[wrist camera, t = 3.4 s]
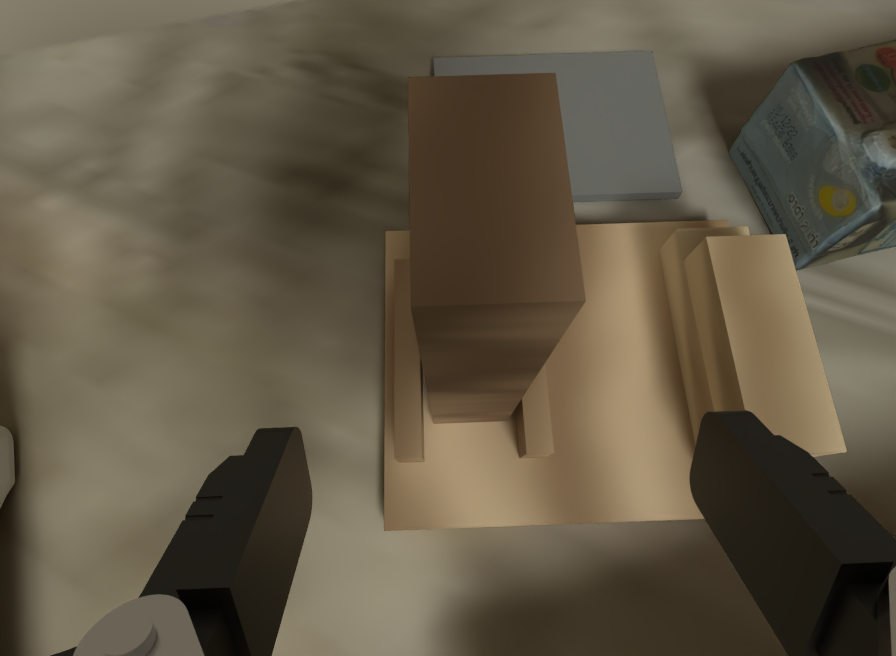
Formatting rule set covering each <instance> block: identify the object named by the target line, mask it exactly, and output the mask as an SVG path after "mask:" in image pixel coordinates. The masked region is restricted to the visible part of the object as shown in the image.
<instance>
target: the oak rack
mask: <svg viewBox="0 0 896 656" xmlns="http://www.w3.org/2000/svg"><path fill="white" fill-rule="evenodd" d="M576 230H577V237H578V245H579V252H580V260H581V267H582V275H583V282H584V290H585V297H586V302H585V303H584V305H583V306H582V308H581V309H580V311H579V312H578V314H577V315H576V317H575V318H574V320H573V321H572V323H571V324H570V326H569V327H568V329H567V331H566V332H565V334H564V335H563V337H562V338H561V340H560V341H559V343H558V344H557V346H556V347H555V349H554V350H553V352H552V353H551V355H550V356H549V358H548V359H547V361H546V362H545V364H544V366H543V367H542V369H541V370H540V372H539V373H538V375H537V376H536V378H535V379H534V381H533V382H532V384H531V385H530V387H529V388H528V390H527V391H526V393H525V394H524V396H523V397H522V399H521V401H520V402H519V404H518V405H517V407H516V408H515V410H514V411H513V413H512V414H511V416H510V417H509V419H508V420H507V421H500V422H472V423H444V424H433V419H432V413H431V408H430V403H429V398H428V393H427V388H426V383H425V378H424V373H423V368H422V362H421V357H420V352H419V347H418V342H417V337H416V332H415V327H414V322H413V317H412V311H411V298H410V230H403V231H386V250H385V434H384V531H392V530H419V529H445V528H472V527H499V526H526V525H552V524H579V523H606V522H633V521H660V520H686V519H704V517H703V515H702V514H701V512H700V510H699V509H698V507H697V505H696V504H695V501H694V499H693V496H692V493H691V489H690V481H689V475H690V468H691V464H692V460H693V455H694V451H695V446H696V442H697V437H698V433H699V428H700V424H701V420H702V418H703V416H704V414H705V413H707V412H715V411H740V410H747V411H750V412H752V413H753V414H754V415H755V416H756V417H757V418H758V419H759V420H760V421H761V422H762V423H763V424H764V425H765V426H766V427H767V428H768V429H769V430H770V431H771V432H772V433H773V435H781V436H782V437H784V438H786V439H787V440H789V441H791V442H792V443H794V444H796V445H797V446H799V447H800V448H802V449H804V450H805V451H807V452H808V453H809V454H810V455H811V456H812V457H815V456H822V455H830V454H837V453H844V452H847V450H846V446H845V442H844V439H843V435H842V432H841V428H840V425H839V421H838V418H837V414H836V411H835V407H834V404H833V400H832V396H831V393H830V389H829V386H828V382H827V379H826V375H825V372H824V368H823V365H822V361H821V358H820V354H819V351H818V347H817V343H816V340H815V336H814V333H813V329H812V326H811V322H810V319H809V315H808V312H807V308H806V305H805V301H804V297H803V294H802V290H801V287H800V283H799V280H798V276H797V273H796V269H795V266H794V262H793V259H792V255H791V251H790V248H789V244H788V241H787V237H786V234H774V235H750V234H749V230H748V226H745V227H729V223H728V220H709V221H679V222H648V223H617V224H587V225H576Z"/></svg>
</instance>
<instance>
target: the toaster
mask: <svg viewBox="0 0 896 656" xmlns="http://www.w3.org/2000/svg"><path fill="white" fill-rule="evenodd" d="M14 483H15V467H14V442H13V437H12V434H11V432H10V431H9V430H8V429H7V428H5V427H3V426H0V509H1V506H2V504H3V502H4V500H5V498H6V496H7V494H8V493H9V491H10V490H11V488H12V487H13V485H14Z"/></svg>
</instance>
